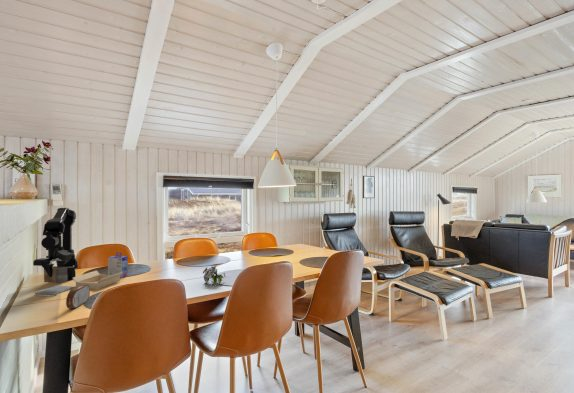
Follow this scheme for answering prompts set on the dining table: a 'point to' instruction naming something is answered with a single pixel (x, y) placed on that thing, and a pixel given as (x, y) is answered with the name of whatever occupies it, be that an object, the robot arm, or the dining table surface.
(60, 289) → the felt pad
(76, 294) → the tin
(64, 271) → the walnut block
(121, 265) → the ink cartridge box
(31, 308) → the dining table surface
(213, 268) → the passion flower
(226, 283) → the dining table surface
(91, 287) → the beige tray
